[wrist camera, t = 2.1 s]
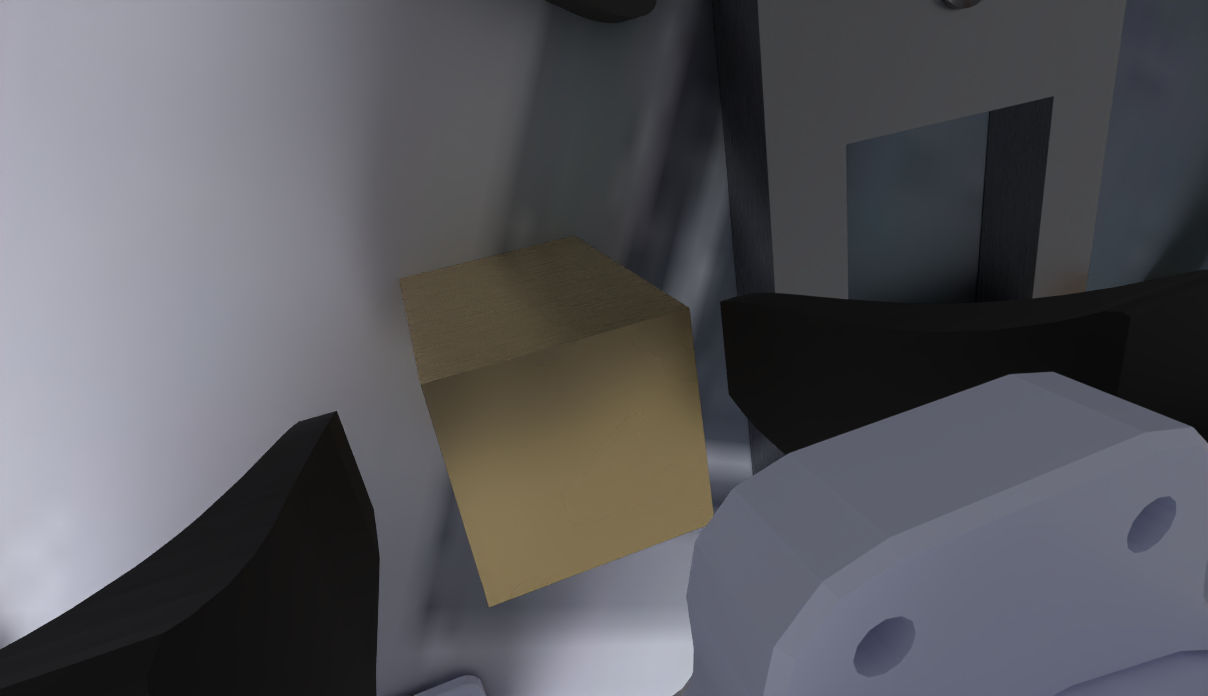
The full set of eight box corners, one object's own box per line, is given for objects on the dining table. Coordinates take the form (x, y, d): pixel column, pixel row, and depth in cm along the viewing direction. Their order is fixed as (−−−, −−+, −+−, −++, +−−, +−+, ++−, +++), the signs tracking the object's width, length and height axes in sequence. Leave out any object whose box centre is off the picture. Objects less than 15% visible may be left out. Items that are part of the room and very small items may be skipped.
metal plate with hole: (759, 550, 20) (797, 593, 19) (700, -147, 13) (751, -186, 11) (1010, 450, 23) (1065, 480, 21) (1075, -184, 16) (1167, -221, 14)
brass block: (446, 436, 16) (489, 607, 10) (399, 278, 14) (421, 385, 9) (602, 388, 17) (714, 522, 11) (574, 235, 15) (689, 308, 10)
